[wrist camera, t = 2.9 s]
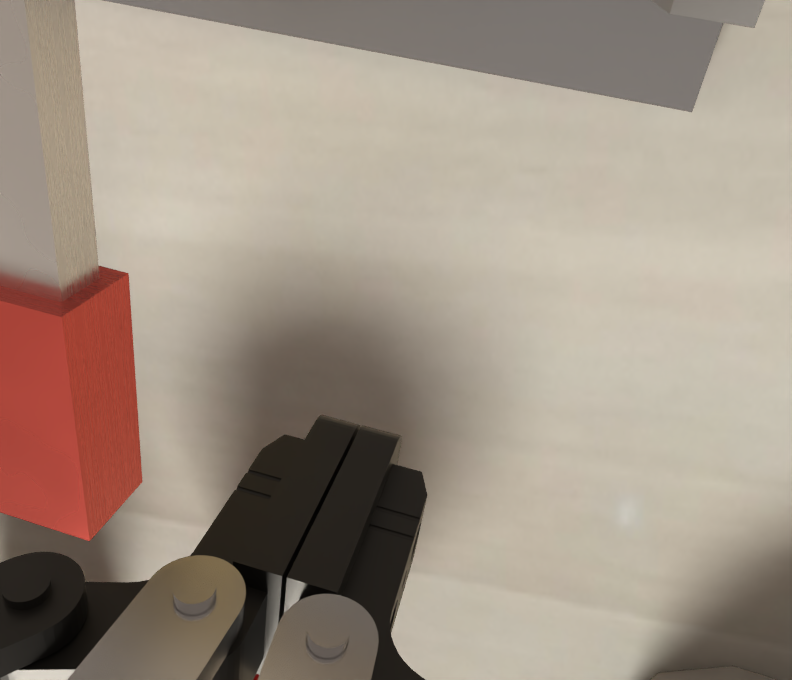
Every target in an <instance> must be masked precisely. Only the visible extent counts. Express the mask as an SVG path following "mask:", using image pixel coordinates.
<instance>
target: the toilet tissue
mask: <svg viewBox="0 0 792 680" xmlns="http://www.w3.org/2000/svg"><path fill="white" fill-rule="evenodd" d="M650 680H777V679H773V678H770V677H767V676H764V675H761V674H758V673H754V672H751V671H748V670H745V669H742V668H738V667H735V666H727V667H716V668H704V669H693V670H682V671H671V672H660V673H658V674H657V675H655V676H654V677H653V678H651V679H650Z"/></svg>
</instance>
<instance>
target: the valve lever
mask: <svg viewBox="0 0 792 680" xmlns="http://www.w3.org/2000/svg"><path fill="white" fill-rule="evenodd" d="M141 483H142V471H141V456H140V441H139V426H138V411H137V396H136V381H135V366H134V350H133V335H132V320H131V305H130V290H129V275H128V273H125V272H121V271H117V270H113V269H109V268H105V267H101V266H98V254H97V243H96V232H95V221H94V210H93V199H92V188H91V177H90V166H89V155H88V144H87V133H86V121H85V110H84V99H83V88H82V77H81V66H80V55H79V44H78V33H77V22H76V11H75V0H0V512H1V513H4V514H7V515H10V516H13V517H16V518H19V519H22V520H26V521H29V522H32V523H35V524H38V525H41V526H44V527H47V528H50V529H53V530H56V531H60V532H63V533H66V534H69V535H72V536H75V537H78V538H81V539H84V540H87V541H90V540H91V539H92V538H93V537H94V536H95V535H96V534H97V532H98V531H99V530H100V529H101V528H102V527H103V526H104V525H105V523H106V522H107V521H108V520H109V519H110V518H111V517H112V515H113V514H114V513H115V512H116V511H117V510H118V509H119V508H120V506H121V505H122V504H123V503H124V502H125V501H126V500H127V498H128V497H129V496H130V495H131V494H132V493H133V492H134V491H135V489H136V488H137V487H138V486H139V485H140V484H141Z"/></svg>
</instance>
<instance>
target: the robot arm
mask: <svg viewBox="0 0 792 680" xmlns="http://www.w3.org/2000/svg"><path fill="white" fill-rule="evenodd" d="M401 439H402V437H401V436H399V435H395V434H392V433H388V432H384V431H381V430H377V429H373V428H369V427H366V426H362V427H360V425H358V424H354V423H350V422H346V421H343V420H339V419H335V418H332V417H328V416H324V415H320V416H319V417H318V419H317V420H316V422H315V423H314V425H313V427H312V429H311V430H310V432H309V434H308V435H307V437H306V439H305V440H303V439H300V438H296V437H292V436H289V435H283V436H282V437H280V438H279V439H277V440H276V441H274V442H273V443H271V444H269V445H268V446H266V447H265V448H263V449H262V450H261V452H260V453H259V455H258V456H257V458H256V459H255V461H254V462H253V464H252V465H251V467H250V468H249V471H248V473H246V474H245V476H244V477H243V479H242V480H241V482H240V483H239V485H238V487H237V490H235V491H234V492H233V494H232V495H231V497H230V498H229V500H228V501H227V503H226V504H225V506H224V507H223V509H222V510H221V512H220V513H219V514H218V516H217V517H216V519H215V520H214V522H213V523H212V525H211V526H210V528H209V529H208V531H207V532H206V534H205V535H204V537H203V538H202V540H201V541H200V543H199V544H198V546H197V547H196V549H195V550H194V552H193V553H192V554H191V556H188V557H184V558H180V559H178V560H175V561H173V562H171V563H169V564H167V565H165V566H164V567H162V568H161V569H160V570H159V571H157V572H156V573H155V574H154V575H153V576H152V577H151V579H150V580H147V581H141V582H129V583H120V582H85V579H84V575H83V572H82V570H81V568H80V566H79V565H78V564H77V563H76V562H75V561H74V560H72V559H71V558H69V557H67V556H64V555H62V554H58V553H53V552H35V553H29V554H24V555H21V556H18V557H14V558H12V559H9V560H6V561H4V562H1V563H0V680H253V679H254V677H255V675H256V674H259V677H258V680H425V679H424V678H422V677H421V676H419V675H418V674H417V673H416V672H414V671H413V670H412V669H411V668H410V667H409V666H408V665H407V664H406V663H405V662H404V661H403V659H402V658H401V657H400V655H399V654H398V652H397V650H396V648H395V646H394V643H393V640H392V637H391V632H392V628H393V625H394V621H395V618H396V615H397V611H398V608H399V605H400V601H401V598H402V594H403V591H404V588H405V584H406V580H407V577H408V574H409V571H410V567H411V564H412V561H413V557H414V553H415V549H416V544H417V540H418V535H419V530H420V526H421V521H422V517H423V512H424V508H425V503H426V499H427V492H426V488H425V483H424V479H423V475H422V472H420V471H417V470H413V469H409V468H406V467H402V466H398V465H397V463H398V457H399V452H400V447H401Z"/></svg>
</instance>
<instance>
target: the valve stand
mask: <svg viewBox="0 0 792 680" xmlns="http://www.w3.org/2000/svg"><path fill="white" fill-rule="evenodd" d="M104 1H109V2H114V3H120V4H125V5H130V6H135V7H141V8H146V9H151V10H156V11H162V12H167V13H172V14H178V15H183V16H188V17H193V18H199V19H204V20H209V21H214V22H220V23H225V24H230V25H235V26H241V27H246V28H251V29H257V30H262V31H267V32H272V33H278V34H283V35H288V36H293V37H299V38H304V39H309V40H314V41H320V42H325V43H330V44H336V45H341V46H346V47H351V48H357V49H362V50H367V51H372V52H378V53H383V54H388V55H393V56H399V57H404V58H409V59H415V60H420V61H425V62H430V63H436V64H441V65H446V66H451V67H457V68H462V69H467V70H472V71H478V72H483V73H488V74H494V75H499V76H504V77H509V78H515V79H520V80H525V81H530V82H536V83H541V84H546V85H551V86H557V87H562V88H567V89H573V90H578V91H583V92H588V93H594V94H599V95H604V96H609V97H615V98H620V99H625V100H630V101H636V102H641V103H646V104H652V105H657V106H662V107H667V108H673V109H678V110H683V111H688V112H692V111H693V108H694V105H695V102H696V99H697V96H698V94H699V91H700V88H701V85H702V82H703V79H704V76H705V73H706V71H707V68H708V65H709V62H710V59H711V56H712V53H713V50H714V48H715V45H716V42H717V39H718V36H719V33H720V30H721V28H722V25H723V23H727V24H733V25H739V26H745V27H751V28H755V25H756V22H757V20H758V17H759V14H760V12H761V9H762V6H763V4H764V1H765V0H104Z"/></svg>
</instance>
